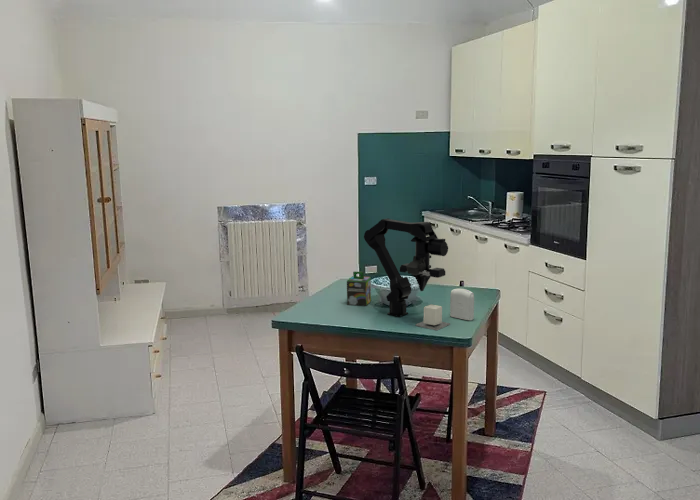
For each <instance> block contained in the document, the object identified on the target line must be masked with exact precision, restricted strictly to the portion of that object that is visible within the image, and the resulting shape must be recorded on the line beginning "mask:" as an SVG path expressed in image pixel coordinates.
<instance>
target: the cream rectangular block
mask: <svg viewBox="0 0 700 500" xmlns="http://www.w3.org/2000/svg"><path fill="white" fill-rule="evenodd" d="M423 321H424V323H426V324H430V325H437V324H439V323H442V322H443V306H441V305H436V304H431V303H430V304H428V305H426V306H424V307H423Z"/></svg>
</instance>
